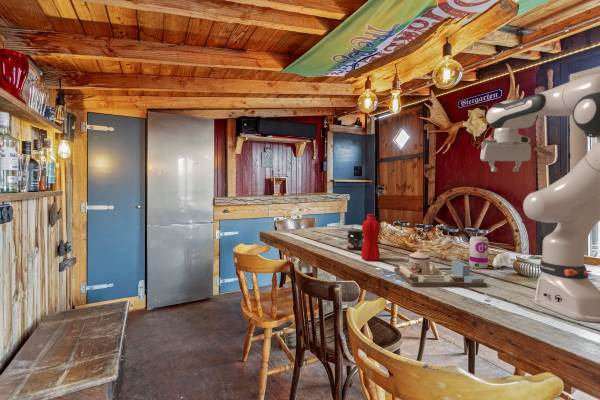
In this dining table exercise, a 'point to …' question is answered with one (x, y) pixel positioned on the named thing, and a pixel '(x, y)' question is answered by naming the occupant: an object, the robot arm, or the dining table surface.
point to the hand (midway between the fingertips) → (504, 171)
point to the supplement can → (478, 252)
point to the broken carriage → (450, 279)
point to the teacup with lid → (420, 263)
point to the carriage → (457, 269)
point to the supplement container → (355, 239)
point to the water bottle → (370, 239)
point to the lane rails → (457, 283)
